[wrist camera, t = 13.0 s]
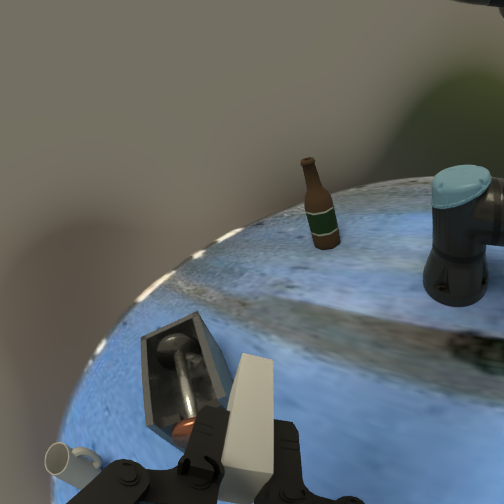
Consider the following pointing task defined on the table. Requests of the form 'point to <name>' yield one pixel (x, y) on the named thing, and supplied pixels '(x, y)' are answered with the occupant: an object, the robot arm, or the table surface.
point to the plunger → (181, 378)
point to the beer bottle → (319, 209)
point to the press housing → (166, 381)
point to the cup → (72, 464)
